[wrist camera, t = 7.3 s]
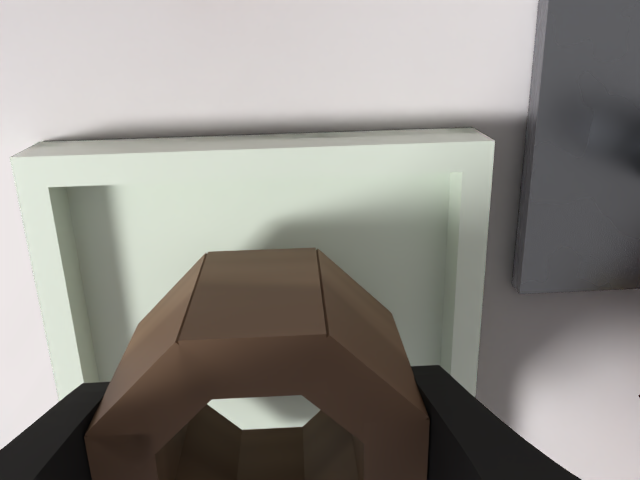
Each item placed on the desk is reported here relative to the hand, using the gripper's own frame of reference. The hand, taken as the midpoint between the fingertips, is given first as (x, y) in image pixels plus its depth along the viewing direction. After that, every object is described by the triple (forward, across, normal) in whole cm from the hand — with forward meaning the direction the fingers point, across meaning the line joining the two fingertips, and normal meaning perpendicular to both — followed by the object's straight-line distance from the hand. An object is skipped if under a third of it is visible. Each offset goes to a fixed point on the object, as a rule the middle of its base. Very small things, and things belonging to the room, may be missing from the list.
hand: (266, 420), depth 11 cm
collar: (+2, 0, 0) cm, 2 cm away
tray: (+4, 0, 0) cm, 4 cm away
